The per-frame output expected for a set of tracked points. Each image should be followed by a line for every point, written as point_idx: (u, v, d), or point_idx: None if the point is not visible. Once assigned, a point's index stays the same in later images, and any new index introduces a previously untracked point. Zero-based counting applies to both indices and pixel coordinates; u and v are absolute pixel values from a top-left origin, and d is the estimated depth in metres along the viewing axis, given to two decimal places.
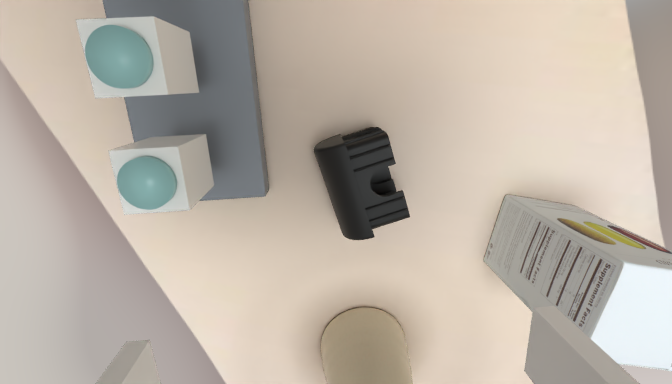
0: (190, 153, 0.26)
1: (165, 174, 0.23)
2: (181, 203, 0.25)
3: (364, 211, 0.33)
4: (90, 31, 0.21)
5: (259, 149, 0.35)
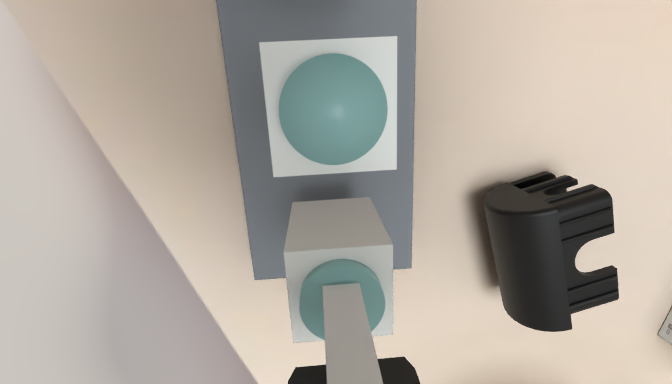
0: None
1: (377, 291, 0.14)
2: (382, 325, 0.16)
3: (565, 297, 0.24)
4: (282, 63, 0.12)
5: (411, 207, 0.25)
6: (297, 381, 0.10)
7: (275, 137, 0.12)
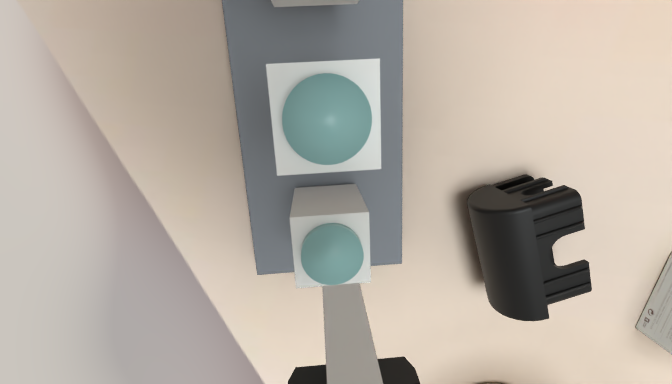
0: None
1: (357, 245, 0.20)
2: (362, 275, 0.21)
3: (541, 288, 0.26)
4: (284, 81, 0.14)
5: (400, 207, 0.28)
6: (298, 381, 0.10)
7: (279, 142, 0.15)
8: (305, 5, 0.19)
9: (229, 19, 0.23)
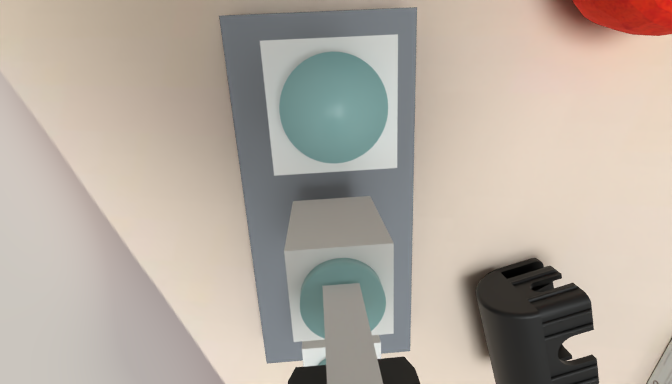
0: None
1: None
2: None
3: None
4: (302, 264, 0.15)
5: (409, 300, 0.28)
6: (298, 381, 0.10)
7: (295, 314, 0.15)
8: None
9: (240, 132, 0.23)
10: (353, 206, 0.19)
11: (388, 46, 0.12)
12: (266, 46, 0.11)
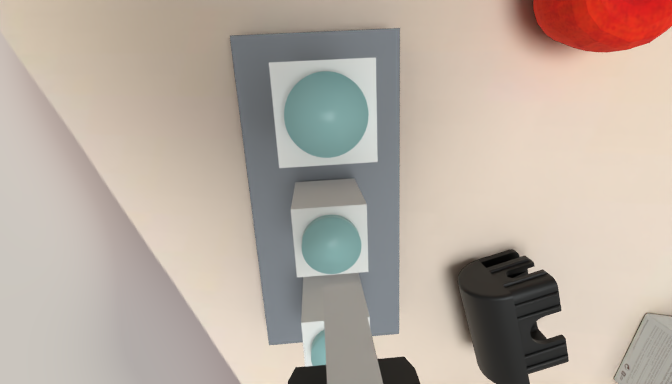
0: None
1: None
2: None
3: (523, 362, 0.29)
4: (303, 219, 0.21)
5: (397, 286, 0.31)
6: (298, 381, 0.10)
7: (298, 256, 0.22)
8: None
9: (246, 135, 0.26)
10: (341, 184, 0.25)
11: (368, 66, 0.15)
12: (273, 66, 0.15)
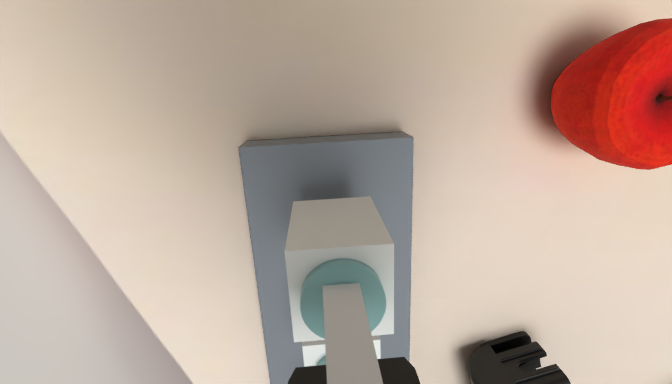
0: None
1: None
2: None
3: None
4: (314, 354, 0.20)
5: None
6: (298, 381, 0.10)
7: None
8: None
9: (255, 241, 0.25)
10: None
11: (386, 251, 0.15)
12: (289, 254, 0.14)
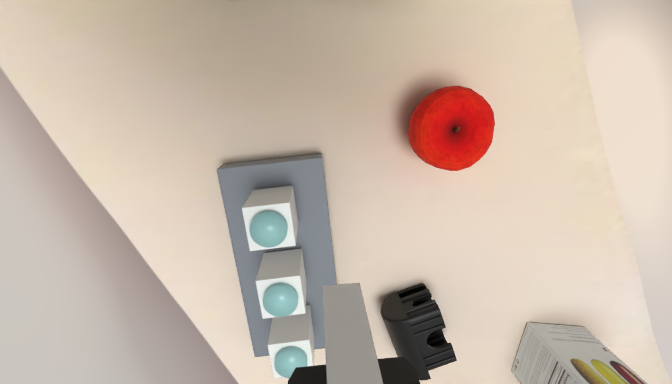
0: (310, 333, 0.40)
1: (303, 358, 0.38)
2: None
3: (423, 362, 0.44)
4: (263, 286, 0.36)
5: None
6: (298, 381, 0.10)
7: (262, 306, 0.36)
8: None
9: (231, 226, 0.41)
10: (291, 255, 0.40)
11: (286, 206, 0.34)
12: (244, 209, 0.33)
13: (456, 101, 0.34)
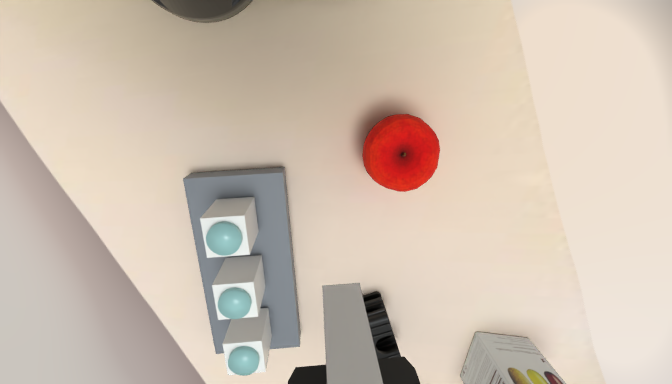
0: (264, 334, 0.43)
1: (255, 358, 0.41)
2: (261, 368, 0.42)
3: None
4: (219, 290, 0.39)
5: (296, 317, 0.49)
6: (298, 381, 0.10)
7: (218, 309, 0.39)
8: None
9: (195, 231, 0.44)
10: (250, 262, 0.43)
11: (241, 218, 0.36)
12: (202, 219, 0.36)
13: (403, 129, 0.37)
